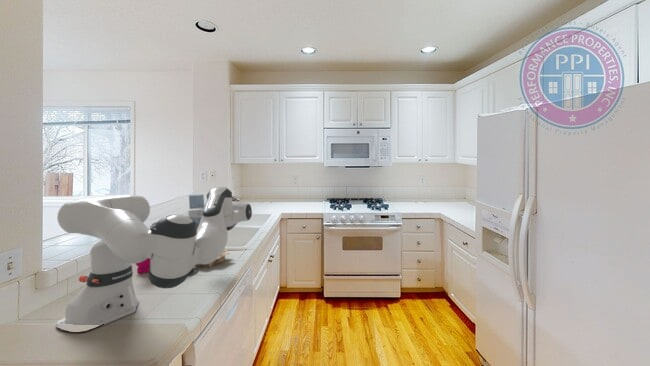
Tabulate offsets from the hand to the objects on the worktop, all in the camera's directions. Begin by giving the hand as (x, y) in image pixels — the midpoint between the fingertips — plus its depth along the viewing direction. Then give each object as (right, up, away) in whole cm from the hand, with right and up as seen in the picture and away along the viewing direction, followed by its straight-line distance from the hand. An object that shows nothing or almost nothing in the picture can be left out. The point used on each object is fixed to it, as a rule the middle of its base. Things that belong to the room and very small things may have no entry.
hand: (195, 209), depth 146 cm
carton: (+3, -27, +8) cm, 28 cm away
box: (+1, -9, 0) cm, 9 cm away
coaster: (-2, -28, -6) cm, 29 cm away
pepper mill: (-22, -28, -3) cm, 36 cm away
